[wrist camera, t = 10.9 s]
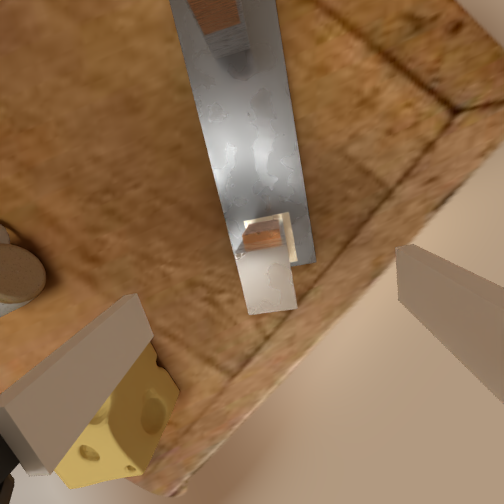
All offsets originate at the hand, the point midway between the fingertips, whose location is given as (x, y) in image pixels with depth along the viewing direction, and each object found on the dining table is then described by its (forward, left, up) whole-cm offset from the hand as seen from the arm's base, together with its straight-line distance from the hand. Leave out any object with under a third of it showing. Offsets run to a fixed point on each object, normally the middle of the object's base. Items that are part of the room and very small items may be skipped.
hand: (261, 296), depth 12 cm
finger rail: (-9, 0, -14) cm, 16 cm away
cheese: (+15, -22, -14) cm, 30 cm away
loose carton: (0, 0, -12) cm, 12 cm away
